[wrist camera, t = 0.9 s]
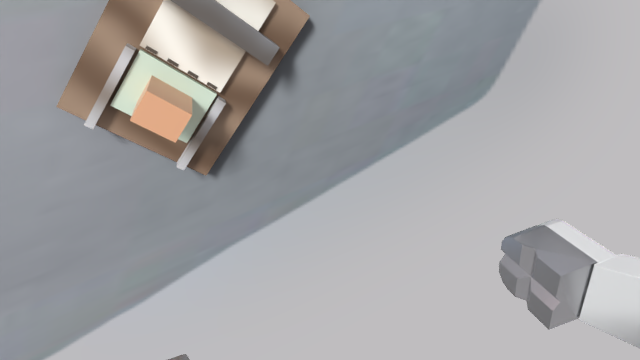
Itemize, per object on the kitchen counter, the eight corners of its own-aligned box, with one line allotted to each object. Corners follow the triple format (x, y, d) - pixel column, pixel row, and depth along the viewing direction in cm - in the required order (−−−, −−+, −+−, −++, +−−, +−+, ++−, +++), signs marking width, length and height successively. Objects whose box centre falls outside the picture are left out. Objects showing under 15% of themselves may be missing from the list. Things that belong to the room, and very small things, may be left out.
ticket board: (161, -102, 31) (158, -109, 28) (306, 14, 39) (317, 19, 35) (61, 101, 36) (47, 116, 33) (205, 169, 44) (206, 187, 40)
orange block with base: (140, 48, 35) (132, 62, 30) (216, 92, 38) (219, 111, 34) (111, 103, 36) (99, 124, 31) (186, 140, 40) (186, 164, 35)
